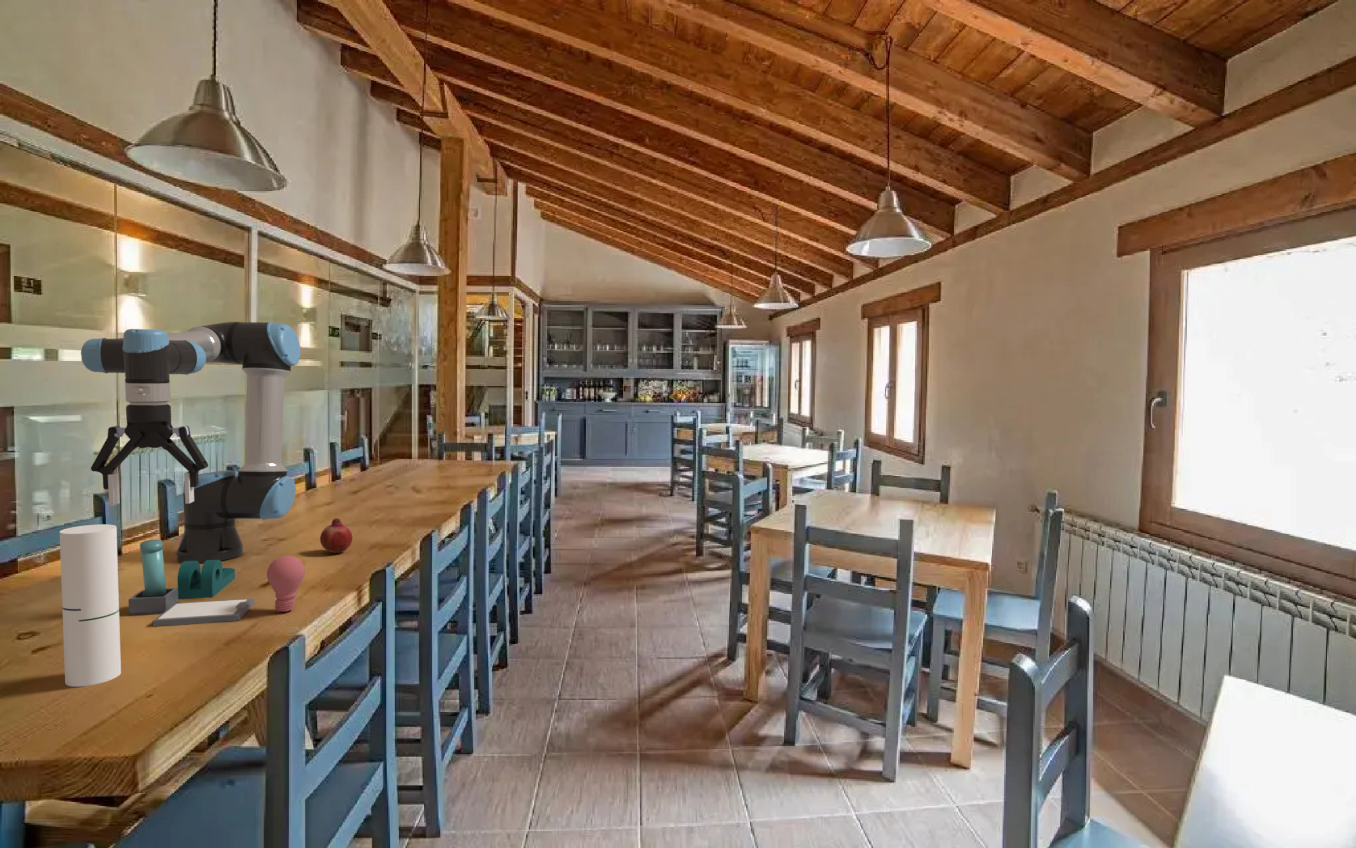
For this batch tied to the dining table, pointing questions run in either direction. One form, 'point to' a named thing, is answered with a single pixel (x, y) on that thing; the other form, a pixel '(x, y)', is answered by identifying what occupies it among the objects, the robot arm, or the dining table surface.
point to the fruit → (336, 537)
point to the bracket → (203, 579)
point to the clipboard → (204, 612)
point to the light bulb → (285, 580)
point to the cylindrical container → (90, 604)
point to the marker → (153, 568)
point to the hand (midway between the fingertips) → (152, 503)
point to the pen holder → (152, 602)
